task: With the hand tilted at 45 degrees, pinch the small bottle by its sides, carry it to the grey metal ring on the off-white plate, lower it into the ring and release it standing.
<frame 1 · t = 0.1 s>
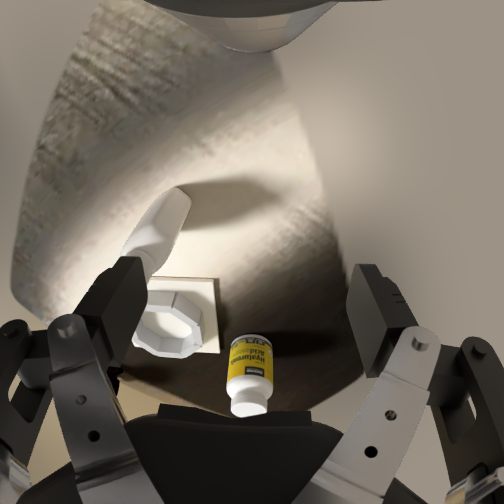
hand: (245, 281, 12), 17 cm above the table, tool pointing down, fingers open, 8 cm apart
barrel socket: (168, 315, 37), on the table
eye dropper bottle: (168, 210, 29), on the table
supplement bottle: (251, 345, 40), on the table
cat figurine: (109, 368, 45), on the table
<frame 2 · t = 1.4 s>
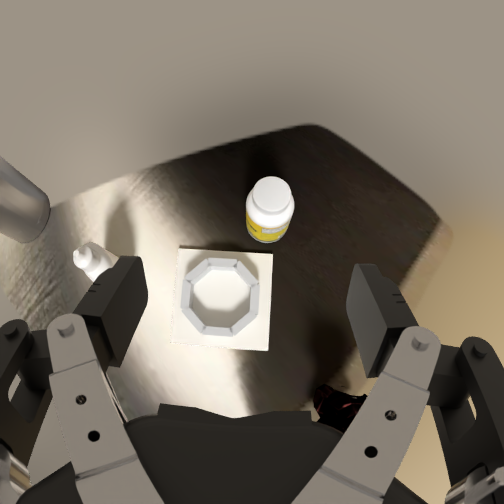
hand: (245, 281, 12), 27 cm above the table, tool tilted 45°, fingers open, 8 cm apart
barrel socket: (221, 299, 39), on the table
eye dropper bottle: (120, 275, 39), on the table
supplement bottle: (266, 224, 41), on the table
cat figurine: (326, 404, 36), on the table
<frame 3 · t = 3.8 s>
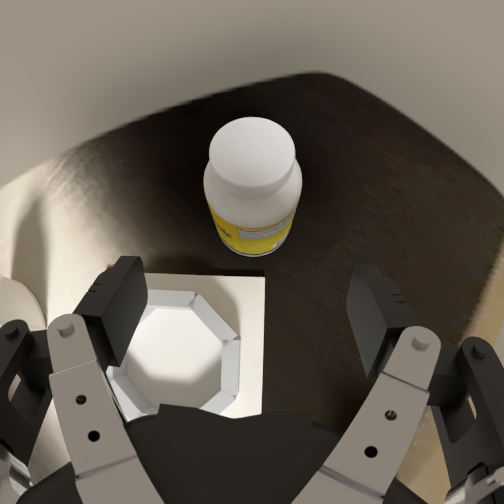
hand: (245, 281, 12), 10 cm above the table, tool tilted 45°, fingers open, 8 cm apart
barrel socket: (175, 359, 20), on the table
eye dropper bottle: (28, 313, 21), on the table
supplement bottle: (253, 224, 23), on the table
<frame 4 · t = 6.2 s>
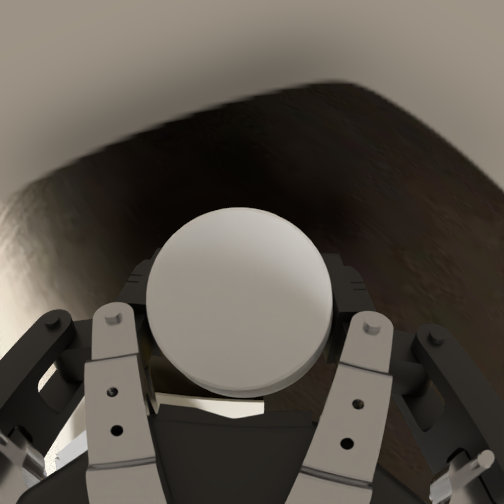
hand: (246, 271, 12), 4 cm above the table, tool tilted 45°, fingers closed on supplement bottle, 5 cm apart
barrel socket: (152, 485, 13), on the table
supplement bottle: (247, 321, 16), on the table, touching gripper
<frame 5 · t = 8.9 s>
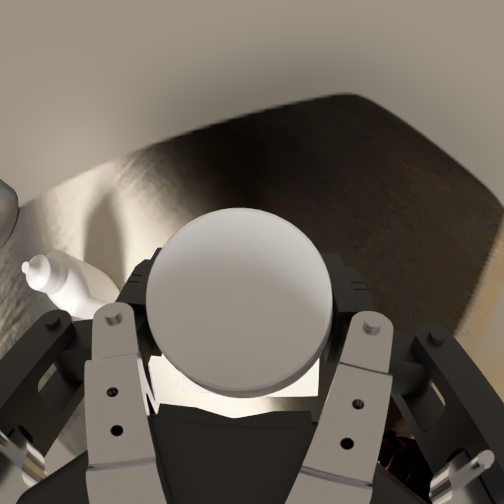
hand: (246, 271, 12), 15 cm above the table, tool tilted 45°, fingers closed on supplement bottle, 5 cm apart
barrel socket: (249, 327, 27), on the table
eye dropper bottle: (104, 295, 27), on the table
supplement bottle: (247, 321, 16), point 11 cm above the table, touching gripper
cat figurine: (390, 453, 23), on the table
when the fingers open (6 cm above the table, at t = 11.5 s): supplement bottle stays where it is, resting on barrel socket.
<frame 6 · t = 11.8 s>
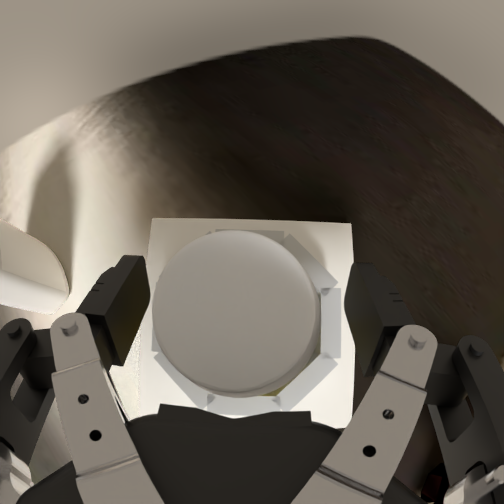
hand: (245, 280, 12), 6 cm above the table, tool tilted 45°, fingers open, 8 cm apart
barrel socket: (247, 324, 17), on the table
eye dropper bottle: (46, 277, 18), on the table
supplement bottle: (245, 325, 17), resting on barrel socket
cat figurine: (439, 491, 14), on the table
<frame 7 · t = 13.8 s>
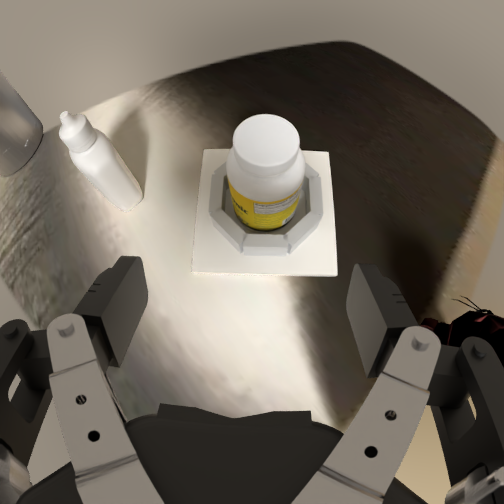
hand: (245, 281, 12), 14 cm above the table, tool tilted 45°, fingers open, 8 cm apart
barrel socket: (265, 208, 28), on the table
eye dropper bottle: (122, 191, 29), on the table
supplement bottle: (264, 207, 27), resting on barrel socket
cat figurine: (419, 353, 24), on the table
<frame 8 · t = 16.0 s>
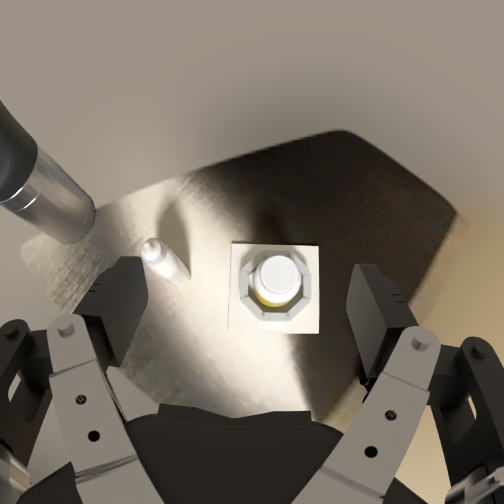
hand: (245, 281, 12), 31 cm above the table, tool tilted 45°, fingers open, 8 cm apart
barrel socket: (274, 288, 42), on the table
eye dropper bottle: (174, 271, 43), on the table
supplement bottle: (273, 288, 42), resting on barrel socket
cat figurine: (370, 380, 39), on the table
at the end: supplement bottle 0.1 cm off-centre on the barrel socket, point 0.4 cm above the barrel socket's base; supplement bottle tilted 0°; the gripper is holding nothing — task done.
